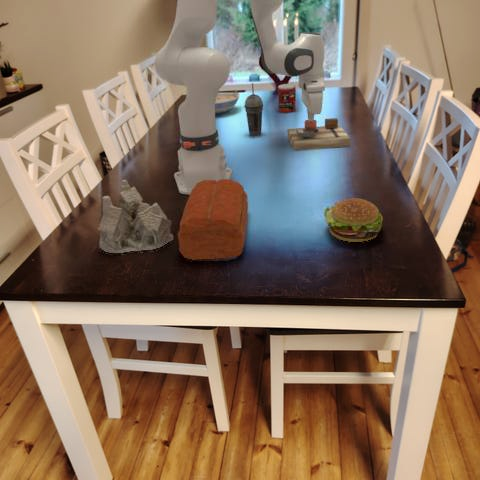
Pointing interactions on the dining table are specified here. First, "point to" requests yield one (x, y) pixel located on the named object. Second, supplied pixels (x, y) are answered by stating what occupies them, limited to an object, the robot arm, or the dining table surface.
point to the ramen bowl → (226, 100)
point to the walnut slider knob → (331, 123)
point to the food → (354, 220)
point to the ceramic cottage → (132, 224)
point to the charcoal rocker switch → (305, 133)
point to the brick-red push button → (310, 124)
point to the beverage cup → (254, 113)
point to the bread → (214, 220)
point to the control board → (319, 138)
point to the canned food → (287, 98)
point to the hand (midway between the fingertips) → (310, 120)
